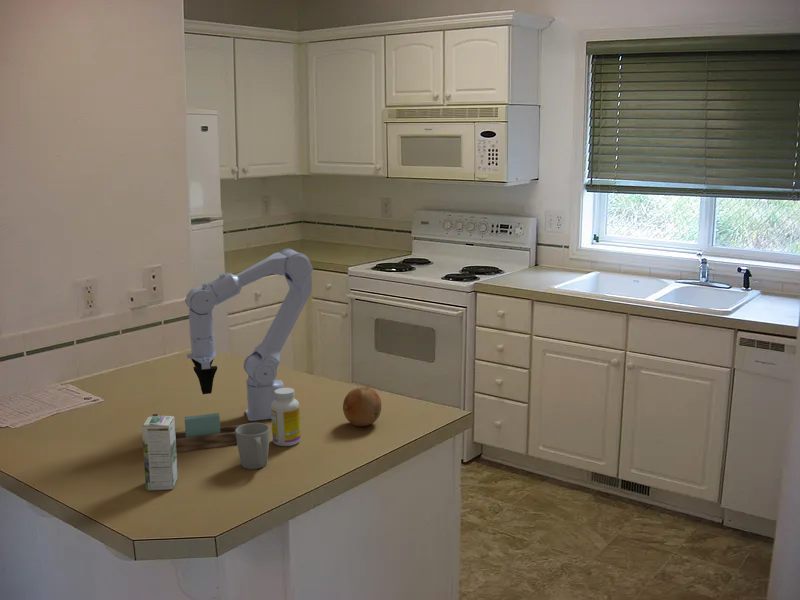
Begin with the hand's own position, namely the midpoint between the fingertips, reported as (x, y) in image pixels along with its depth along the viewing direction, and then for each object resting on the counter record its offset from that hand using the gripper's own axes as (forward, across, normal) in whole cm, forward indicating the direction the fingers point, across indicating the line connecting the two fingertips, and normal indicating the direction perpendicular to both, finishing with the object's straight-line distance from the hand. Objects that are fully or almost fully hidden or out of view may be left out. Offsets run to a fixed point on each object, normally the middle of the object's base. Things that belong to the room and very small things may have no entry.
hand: (205, 388), depth 210 cm
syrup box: (+10, +33, -12) cm, 36 cm away
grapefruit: (+10, +13, +37) cm, 40 cm away
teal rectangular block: (+9, +12, -2) cm, 15 cm away
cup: (+10, +30, +8) cm, 32 cm away
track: (+9, +12, -2) cm, 15 cm away
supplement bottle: (+10, +18, +17) cm, 27 cm away
